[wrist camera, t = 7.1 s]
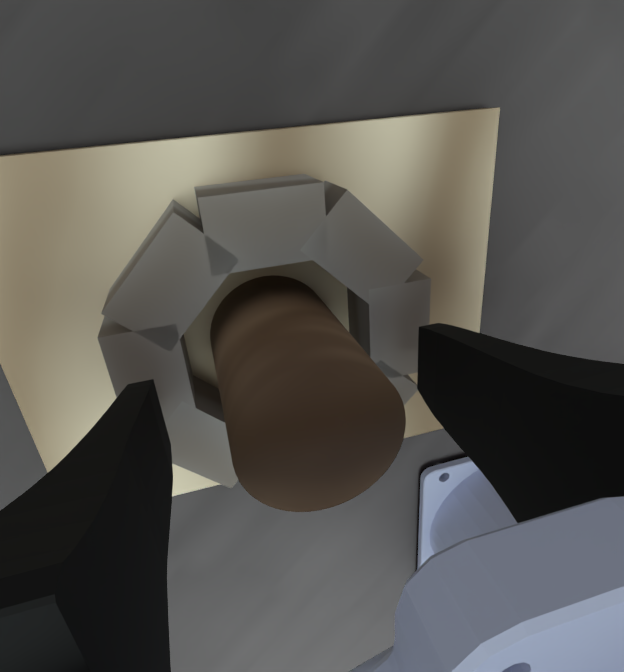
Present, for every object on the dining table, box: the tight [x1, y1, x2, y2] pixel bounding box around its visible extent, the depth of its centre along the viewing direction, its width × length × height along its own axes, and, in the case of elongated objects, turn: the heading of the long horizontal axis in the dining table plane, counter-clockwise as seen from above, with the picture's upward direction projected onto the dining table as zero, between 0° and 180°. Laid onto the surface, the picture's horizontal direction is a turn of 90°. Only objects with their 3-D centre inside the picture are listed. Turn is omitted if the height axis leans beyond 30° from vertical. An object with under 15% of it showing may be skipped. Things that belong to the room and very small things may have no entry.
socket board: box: [0, 108, 500, 496], centre depth 15 cm, size 16×12×3 cm
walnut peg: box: [210, 275, 406, 512], centre depth 13 cm, size 4×4×6 cm
